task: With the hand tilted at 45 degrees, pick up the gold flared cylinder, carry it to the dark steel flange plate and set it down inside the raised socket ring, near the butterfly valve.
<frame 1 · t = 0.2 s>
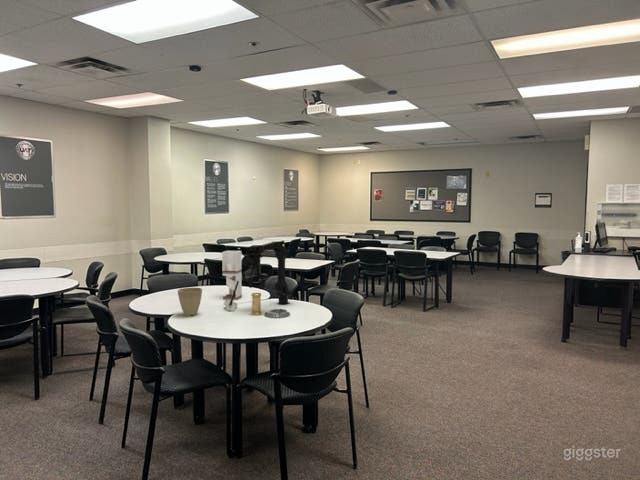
hand: (255, 288, 293), 15 cm above the table, tool pointing down, fingers open, 9 cm apart
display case: (232, 298, 334), on the table
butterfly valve: (230, 309, 301), on the table
plant pot: (190, 315, 283), on the table
flange: (277, 315, 283), on the table
gold flared cylinder: (256, 314, 285), on the table
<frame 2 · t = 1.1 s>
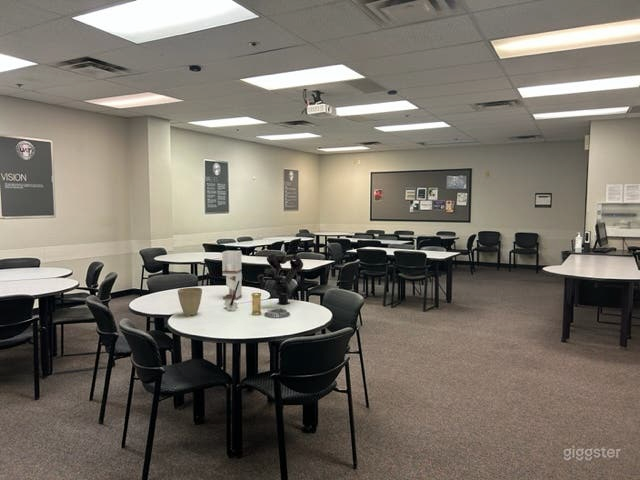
hand: (266, 289, 296), 13 cm above the table, tool tilted 45°, fingers open, 9 cm apart
nothing on the table moved.
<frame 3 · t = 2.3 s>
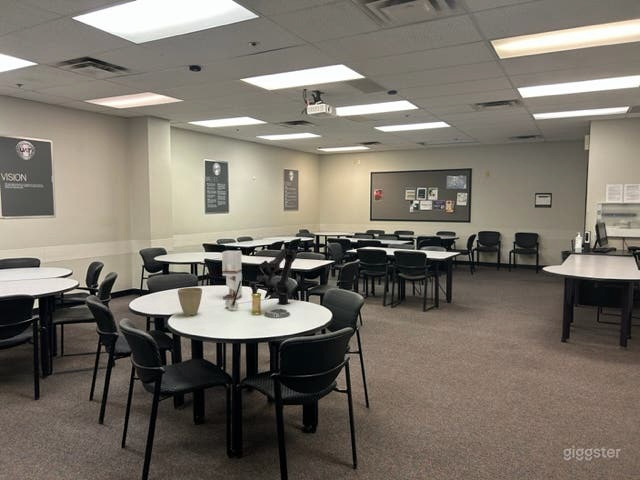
hand: (258, 297, 287), 10 cm above the table, tool tilted 45°, fingers open, 9 cm apart
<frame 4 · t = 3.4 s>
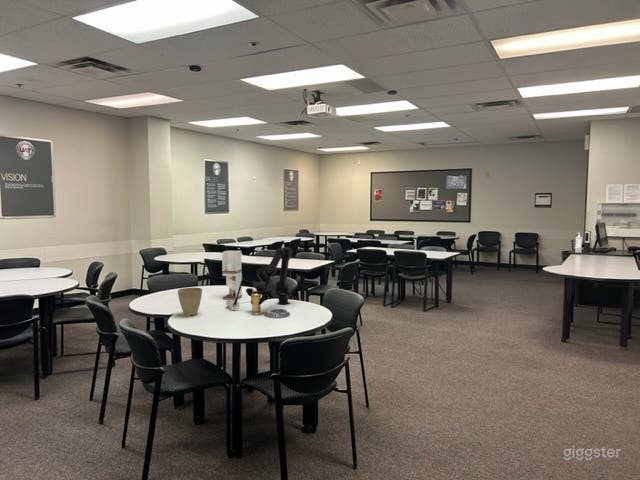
hand: (255, 304, 283), 7 cm above the table, tool tilted 45°, fingers closed on gold flared cylinder, 5 cm apart
gold flared cylinder: (256, 314, 285), on the table, touching gripper
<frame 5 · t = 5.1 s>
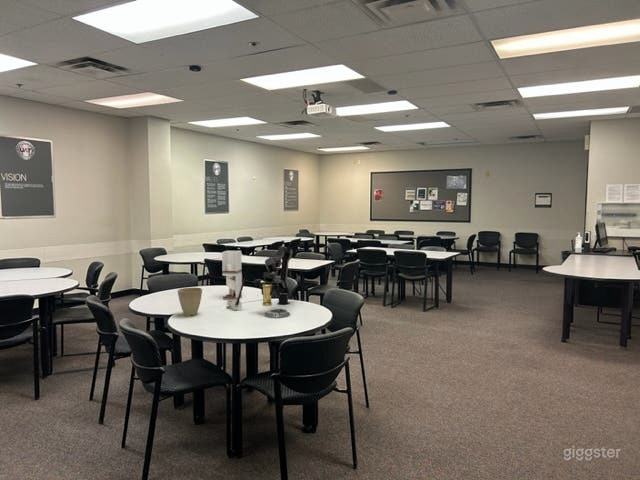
hand: (266, 294, 281), 13 cm above the table, tool tilted 45°, fingers closed on gold flared cylinder, 5 cm apart
gold flared cylinder: (267, 304, 283), point 6 cm above the table, touching gripper
when the fingers open (9 cm above the table, at t = 6.6 s): gold flared cylinder drops 1 cm, resting on flange.
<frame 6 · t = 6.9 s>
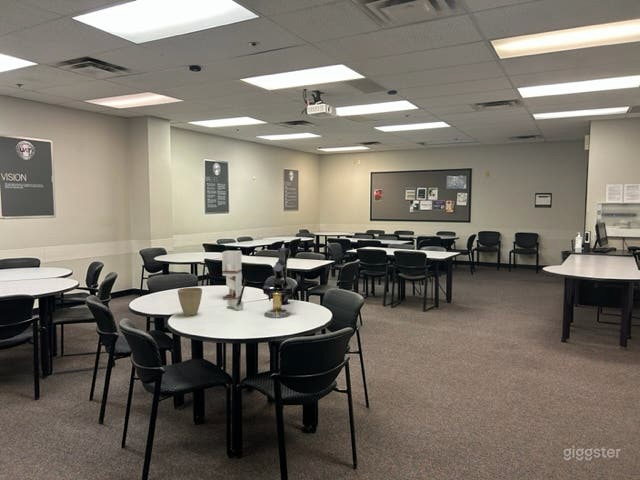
hand: (276, 301, 281), 9 cm above the table, tool tilted 45°, fingers open, 8 cm apart
gold flared cylinder: (277, 313, 283), point 1 cm above the table, touching flange
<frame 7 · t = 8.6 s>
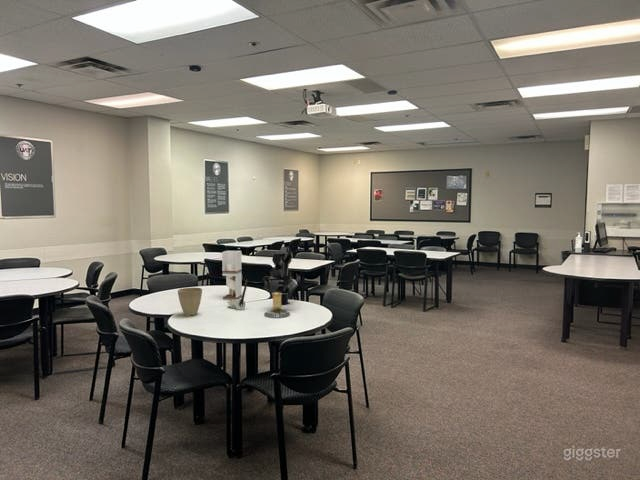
hand: (276, 291, 292), 13 cm above the table, tool tilted 30°, fingers open, 9 cm apart
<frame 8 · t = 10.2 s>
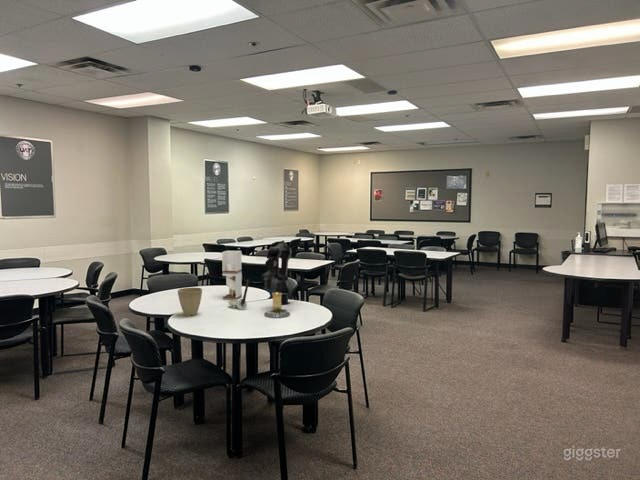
hand: (274, 290, 296), 13 cm above the table, tool pointing down, fingers open, 9 cm apart
at the end: gold flared cylinder 0.0 cm off-centre on the flange, point 1.0 cm above the flange's base; gold flared cylinder tilted 0°; the gripper is holding nothing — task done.
